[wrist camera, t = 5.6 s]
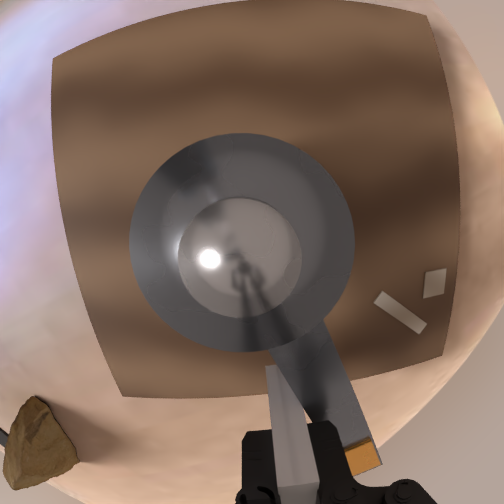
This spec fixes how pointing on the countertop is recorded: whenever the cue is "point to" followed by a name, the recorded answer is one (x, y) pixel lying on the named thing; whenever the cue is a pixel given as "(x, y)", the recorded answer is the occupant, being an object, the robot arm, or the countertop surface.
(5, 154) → the countertop surface
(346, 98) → the base board
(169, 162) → the grey mallet
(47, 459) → the rock
